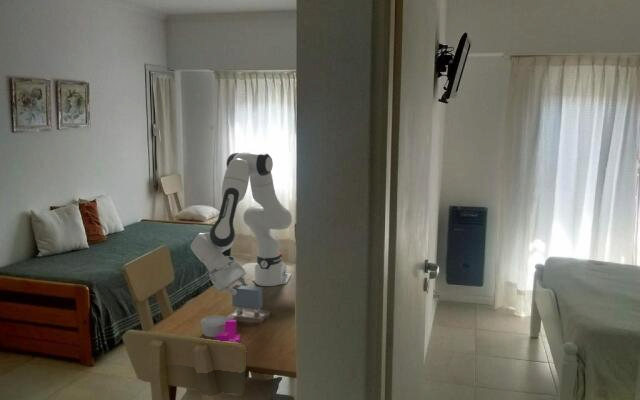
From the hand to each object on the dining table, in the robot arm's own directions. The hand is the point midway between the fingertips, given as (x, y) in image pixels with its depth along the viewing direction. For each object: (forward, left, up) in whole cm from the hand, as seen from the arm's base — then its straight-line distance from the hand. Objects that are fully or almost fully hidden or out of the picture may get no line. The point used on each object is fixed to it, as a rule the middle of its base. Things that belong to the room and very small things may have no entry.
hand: (241, 290), depth 222 cm
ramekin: (+17, -3, -12) cm, 21 cm away
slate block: (0, +3, -7) cm, 7 cm away
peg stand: (0, +3, -12) cm, 12 cm away
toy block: (+26, +8, -12) cm, 30 cm away
